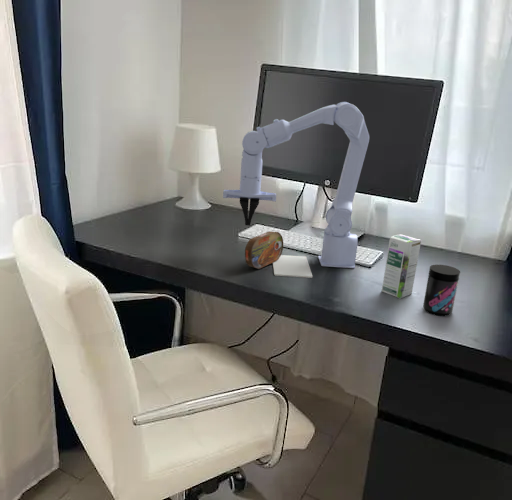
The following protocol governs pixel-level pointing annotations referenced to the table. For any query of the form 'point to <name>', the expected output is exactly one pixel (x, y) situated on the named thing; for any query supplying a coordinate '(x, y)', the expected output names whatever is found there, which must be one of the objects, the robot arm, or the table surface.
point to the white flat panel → (292, 266)
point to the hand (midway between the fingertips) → (247, 224)
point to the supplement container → (441, 290)
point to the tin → (263, 249)
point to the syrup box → (401, 265)
